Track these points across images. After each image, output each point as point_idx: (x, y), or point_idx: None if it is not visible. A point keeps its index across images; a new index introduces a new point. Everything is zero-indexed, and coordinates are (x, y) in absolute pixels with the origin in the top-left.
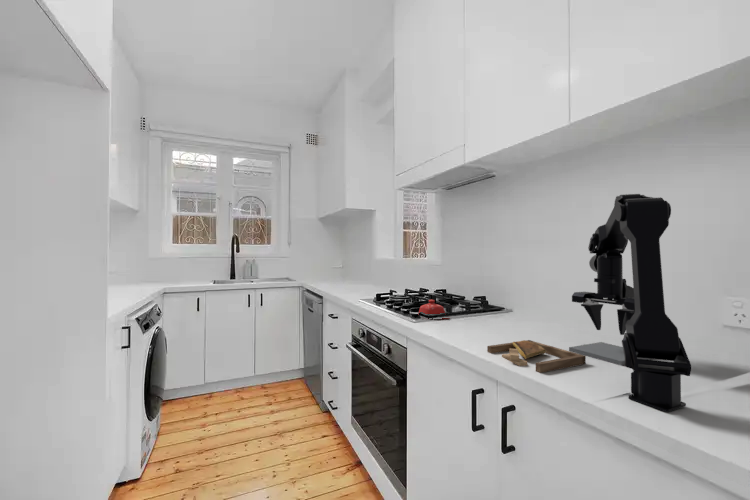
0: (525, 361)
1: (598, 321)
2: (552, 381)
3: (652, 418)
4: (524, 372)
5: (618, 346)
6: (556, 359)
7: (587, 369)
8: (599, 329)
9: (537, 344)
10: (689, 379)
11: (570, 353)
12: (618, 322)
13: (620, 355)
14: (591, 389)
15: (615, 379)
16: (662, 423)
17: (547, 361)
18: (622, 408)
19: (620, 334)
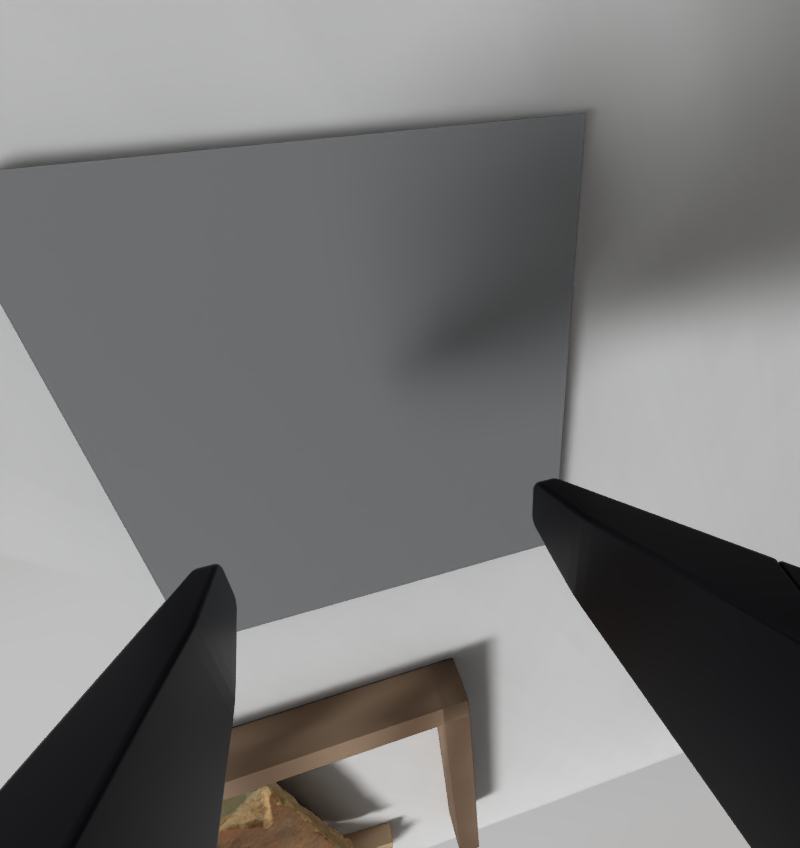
0: (385, 846)
1: (195, 740)
2: (531, 793)
3: None
4: (443, 833)
5: (223, 176)
6: (459, 803)
7: (505, 681)
8: (229, 589)
9: None
10: (793, 391)
11: (402, 736)
12: (669, 727)
13: (477, 455)
14: (616, 738)
15: None
16: None
17: (465, 828)
18: None
19: (538, 525)
